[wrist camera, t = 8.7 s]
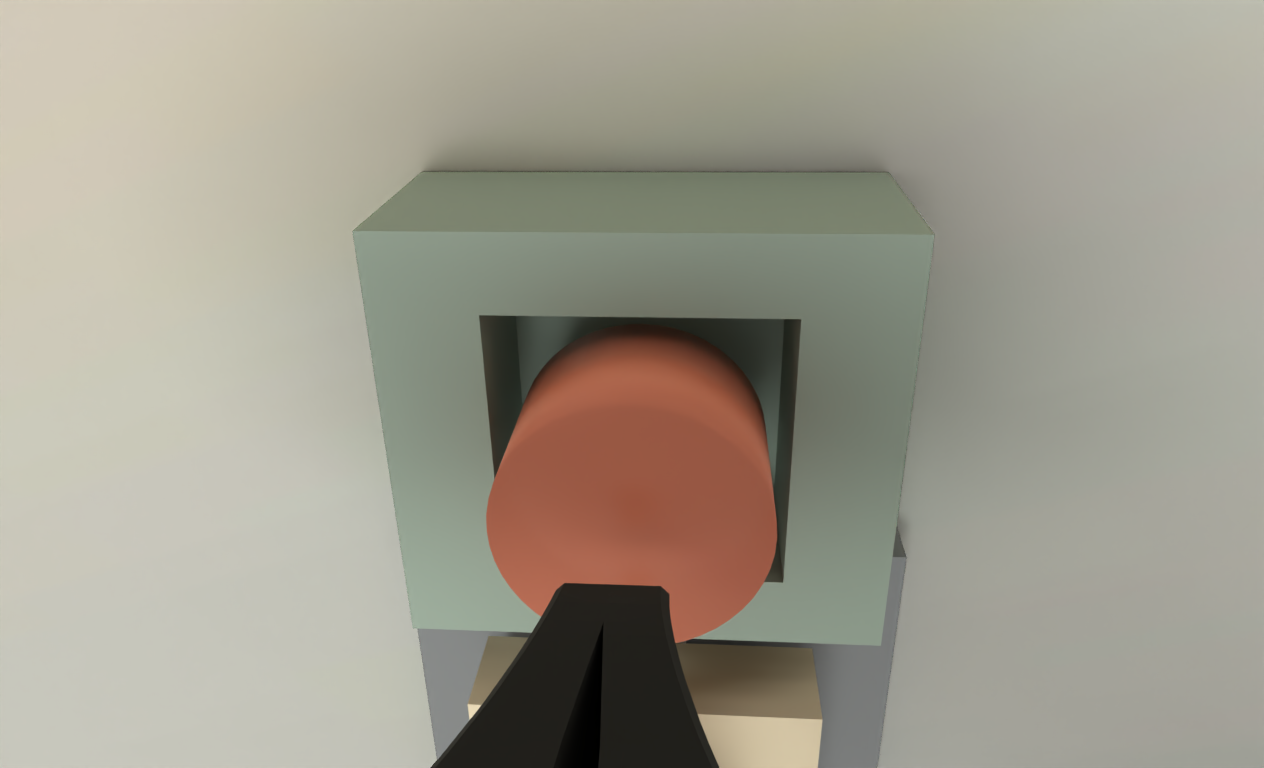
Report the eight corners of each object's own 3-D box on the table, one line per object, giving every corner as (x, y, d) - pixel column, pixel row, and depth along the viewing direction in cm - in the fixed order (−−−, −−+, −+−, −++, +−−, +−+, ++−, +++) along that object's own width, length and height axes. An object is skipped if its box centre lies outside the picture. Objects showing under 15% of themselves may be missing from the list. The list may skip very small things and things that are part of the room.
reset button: (772, 325, 16) (785, 407, 13) (760, 541, 18) (770, 652, 15) (512, 322, 16) (473, 402, 13) (529, 534, 18) (497, 641, 15)
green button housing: (888, 172, 18) (935, 234, 14) (851, 524, 21) (880, 645, 18) (422, 171, 18) (352, 231, 15) (461, 513, 22) (413, 628, 18)
